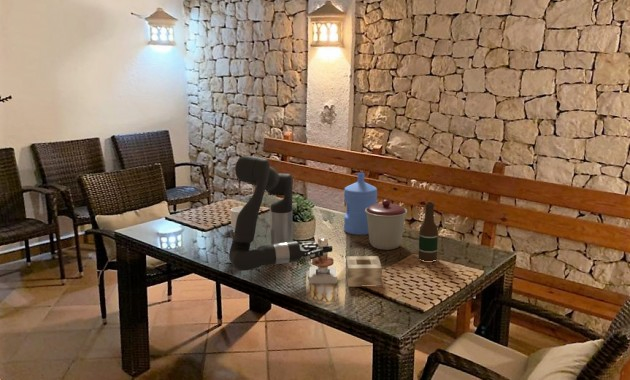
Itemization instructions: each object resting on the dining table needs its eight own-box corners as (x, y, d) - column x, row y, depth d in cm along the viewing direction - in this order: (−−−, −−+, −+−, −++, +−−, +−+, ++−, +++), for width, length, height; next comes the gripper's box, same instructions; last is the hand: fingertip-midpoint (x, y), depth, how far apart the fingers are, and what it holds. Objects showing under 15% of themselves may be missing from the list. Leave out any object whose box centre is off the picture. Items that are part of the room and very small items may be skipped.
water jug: (382, 228, 259) (383, 172, 252) (367, 237, 246) (368, 178, 239) (353, 223, 267) (354, 169, 260) (338, 232, 254) (338, 174, 247)
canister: (371, 237, 245) (372, 193, 241) (410, 242, 239) (411, 196, 234) (359, 250, 229) (359, 202, 224) (400, 255, 222) (401, 206, 218)
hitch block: (348, 286, 192) (348, 268, 190) (346, 273, 204) (346, 256, 202) (381, 286, 192) (381, 267, 190) (377, 273, 204) (377, 256, 202)
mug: (243, 233, 253) (243, 213, 250) (227, 230, 258) (226, 210, 255) (259, 226, 263) (258, 206, 261) (243, 224, 268) (242, 204, 266)
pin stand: (309, 283, 195) (309, 277, 194) (309, 273, 205) (309, 266, 204) (336, 283, 195) (336, 276, 194) (335, 272, 205) (335, 266, 204)
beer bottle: (433, 264, 212) (435, 206, 207) (414, 260, 216) (416, 203, 211) (439, 258, 219) (442, 202, 213) (421, 255, 223) (424, 199, 217)
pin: (312, 282, 196) (311, 243, 192) (312, 274, 204) (311, 236, 200) (333, 282, 196) (334, 243, 192) (333, 273, 204) (333, 236, 200)
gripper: (291, 249, 185) (337, 242, 191) (279, 236, 198) (323, 231, 204) (291, 269, 187) (337, 262, 192) (280, 256, 200) (323, 250, 205)
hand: (329, 246), depth 198 cm, fingers closed on pin, 3 cm apart
